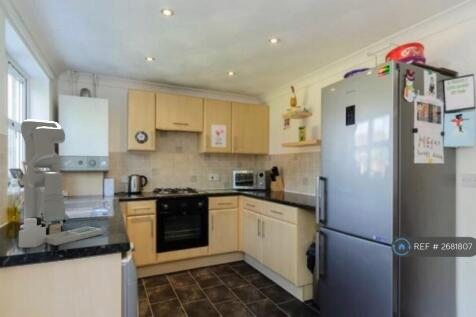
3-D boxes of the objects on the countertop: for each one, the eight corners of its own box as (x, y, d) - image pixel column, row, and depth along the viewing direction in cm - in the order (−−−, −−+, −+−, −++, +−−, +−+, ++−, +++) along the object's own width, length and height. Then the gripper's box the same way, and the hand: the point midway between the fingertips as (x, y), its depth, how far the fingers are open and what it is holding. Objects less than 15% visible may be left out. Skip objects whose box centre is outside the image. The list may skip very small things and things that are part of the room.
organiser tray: (41, 241, 127) (41, 236, 127) (87, 231, 147) (87, 226, 147) (55, 245, 122) (55, 239, 122) (102, 234, 141) (102, 229, 141)
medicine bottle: (29, 243, 125) (29, 216, 125) (46, 242, 125) (46, 216, 126) (18, 247, 118) (18, 219, 118) (35, 247, 118) (36, 219, 118)
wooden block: (44, 236, 136) (44, 224, 136) (55, 234, 141) (55, 222, 141) (50, 237, 134) (50, 225, 134) (60, 235, 138) (61, 223, 138)
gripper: (66, 195, 147) (66, 230, 147) (29, 199, 132) (29, 237, 132) (75, 196, 143) (74, 232, 143) (38, 200, 128) (37, 240, 128)
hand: (52, 234), depth 137 cm, fingers open, 5 cm apart
